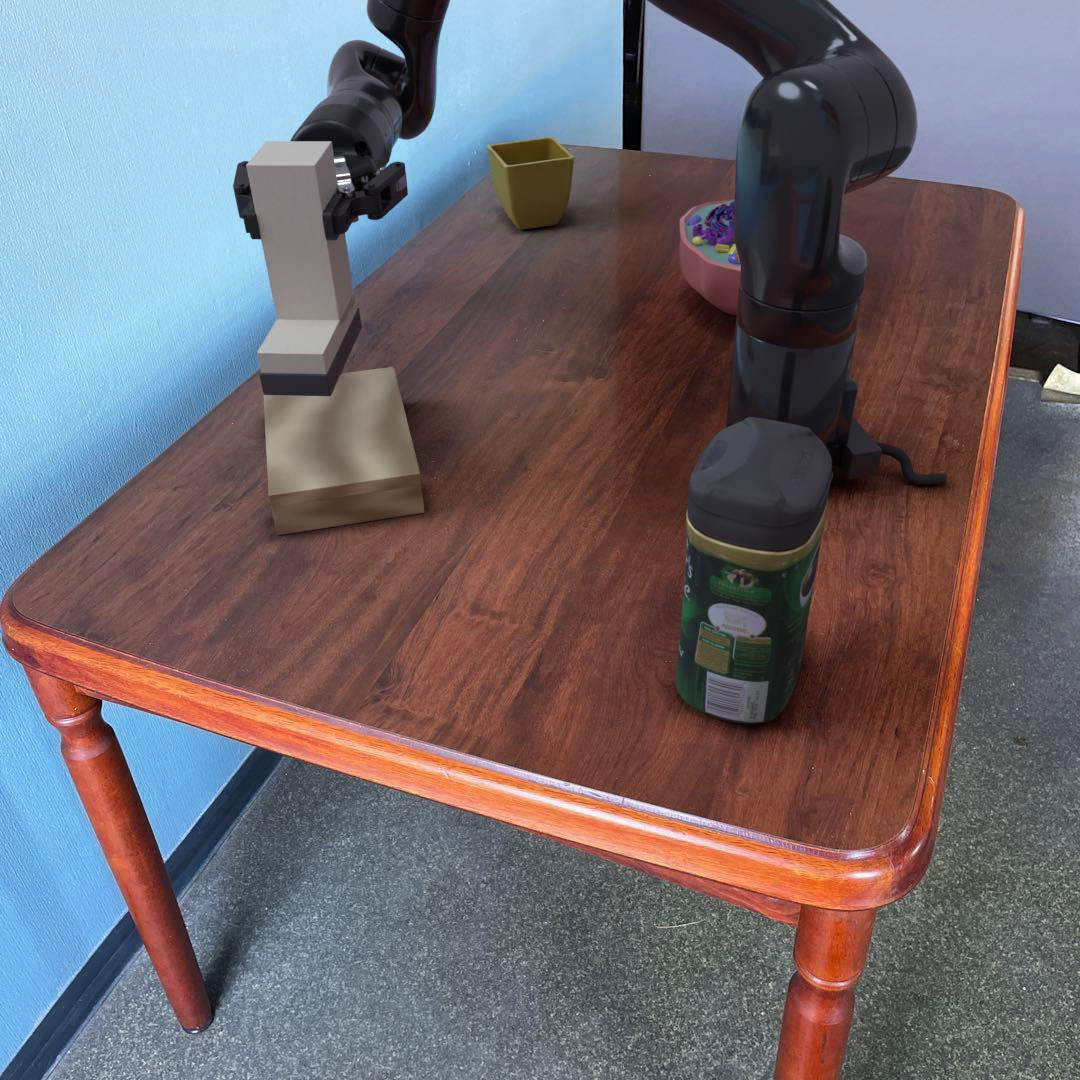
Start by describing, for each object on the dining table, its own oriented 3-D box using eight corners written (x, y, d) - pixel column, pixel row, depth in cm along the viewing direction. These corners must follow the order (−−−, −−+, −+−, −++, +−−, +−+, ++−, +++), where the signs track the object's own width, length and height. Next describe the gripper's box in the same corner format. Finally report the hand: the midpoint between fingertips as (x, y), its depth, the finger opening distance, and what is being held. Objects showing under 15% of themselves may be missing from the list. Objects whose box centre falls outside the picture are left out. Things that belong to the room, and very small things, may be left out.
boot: (300, 326, 90) (266, 138, 80) (362, 327, 89) (334, 138, 80) (263, 395, 81) (219, 193, 71) (330, 396, 81) (296, 194, 71)
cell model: (652, 333, 112) (657, 229, 105) (694, 257, 127) (700, 161, 120) (817, 355, 108) (833, 248, 101) (840, 273, 122) (855, 174, 115)
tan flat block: (398, 403, 102) (393, 366, 100) (424, 512, 89) (420, 473, 86) (270, 420, 101) (262, 383, 98) (277, 535, 87) (268, 495, 84)
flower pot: (490, 214, 139) (486, 143, 133) (554, 204, 141) (552, 135, 135) (508, 239, 132) (505, 166, 127) (575, 229, 134) (575, 157, 129)
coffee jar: (701, 617, 78) (721, 395, 66) (810, 646, 75) (850, 419, 64) (658, 710, 71) (672, 479, 59) (777, 744, 68) (816, 510, 57)
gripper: (253, 102, 90) (183, 176, 76) (422, 102, 88) (381, 176, 75) (269, 190, 94) (206, 274, 81) (430, 191, 93) (393, 276, 80)
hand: (291, 227), depth 78 cm, fingers closed on boot, 5 cm apart
